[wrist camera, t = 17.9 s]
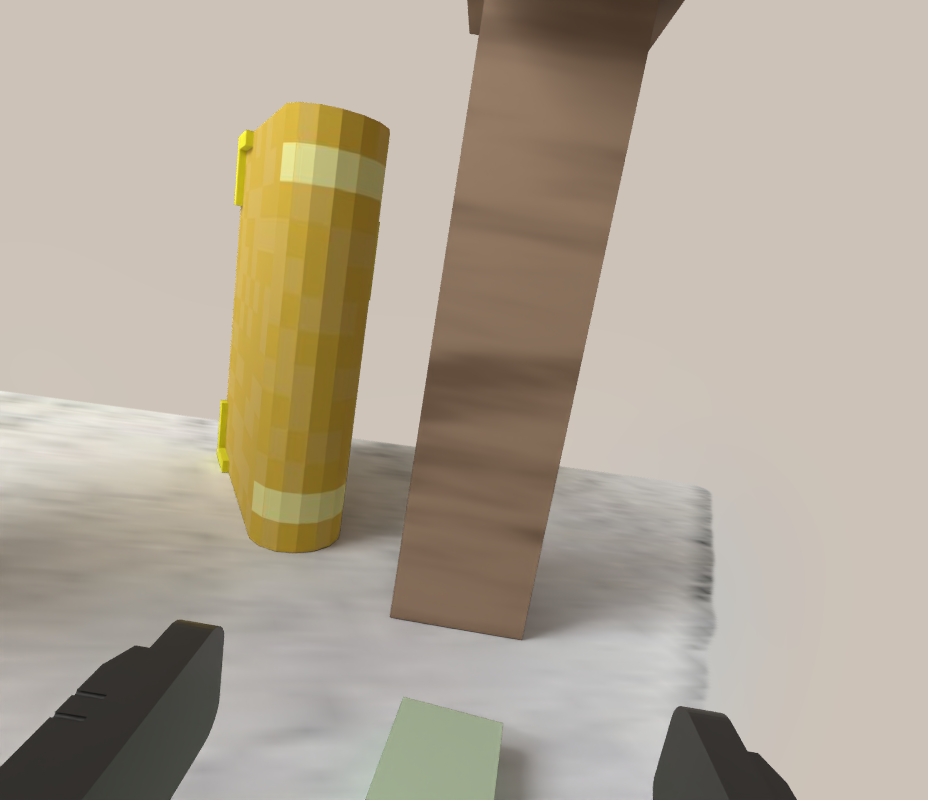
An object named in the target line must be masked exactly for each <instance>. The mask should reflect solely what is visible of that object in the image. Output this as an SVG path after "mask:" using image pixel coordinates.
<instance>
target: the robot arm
mask: <svg viewBox="0 0 928 800" xmlns="http://www.w3.org/2000/svg"><path fill="white" fill-rule="evenodd" d="M223 645H224V631H223V628H222V627H221V626H215V625H209V624H203V623H197V622H191V621H185V620H176V621H175V622H173V623H172V624H171V625H170V626H169V627H168V629H167V630H166V631H165V632H164V633H163V634H162V635H161V636H160V637H159V638H158V640H157V641H156V642H155V643H154V644H153V645H152V646H151V647H150V648H147V647H141V646H134V647H132V648H130V649H129V650H127V651H125V652H123V653H122V654H120V655H118V656H116V657H115V658H113V659H111V660H109V661H108V662H106V663H104V664H102V665H101V666H100V667H99V668H98V669H97V670H96V671H95V672H94V673H93V674H92V675H91V676H90V677H89V678H88V679H87V680H86V681H85V682H84V683H83V684H82V685H81V686H80V687H79V688H78V689H77V692H76V694H75V695H72V696H71V697H70V698H69V699H68V700H67V701H66V702H65V703H64V704H63V705H62V706H61V707H60V708H59V709H58V710H57V711H56V712H55V715H54V717H53V718H51V717H50V718H49V719H48V720H47V721H46V722H45V723H44V724H43V725H42V726H41V727H40V728H39V729H38V730H37V731H36V732H35V733H34V734H33V735H32V736H31V737H30V738H29V739H28V740H27V741H26V742H25V743H24V744H23V745H22V746H21V747H20V748H19V749H18V750H17V751H16V752H15V753H14V754H13V755H12V756H11V757H10V758H9V759H8V760H7V761H6V762H5V763H4V764H3V765H2V766H1V767H0V800H170V799H171V797H172V796H173V794H174V792H175V791H176V789H177V788H178V786H179V784H180V783H181V781H182V779H183V778H184V776H185V774H186V773H187V771H188V769H189V768H190V766H191V764H192V763H193V761H194V759H195V758H196V756H197V755H198V753H199V751H200V750H201V748H202V746H203V745H204V743H205V741H206V739H207V737H208V735H209V733H210V731H211V728H212V726H213V723H214V720H215V717H216V713H217V709H218V704H219V696H220V683H221V671H222V658H223ZM653 800H797V799H796V797H795V796H794V794H793V792H792V791H791V789H790V788H789V786H788V784H787V783H786V782H785V781H784V780H783V779H782V777H781V776H779V774H778V773H777V772H776V771H775V770H774V769H773V768H772V767H771V766H770V765H769V764H768V763H767V762H766V761H765V760H764V759H763V758H762V757H761V756H760V755H759V754H758V753H754V752H748V751H747V750H746V748H745V746H744V745H743V743H742V741H741V739H740V737H739V735H738V734H737V732H736V730H735V728H734V726H733V725H732V723H731V721H730V720H729V718H728V717H727V716H726V715H725V714H722V713H717V712H712V711H706V710H700V709H694V708H688V707H682V706H679V707H677V708H676V709H675V711H674V713H673V715H672V718H671V722H670V725H669V728H668V732H667V735H666V739H665V742H664V746H663V749H662V752H661V756H660V759H659V763H658V766H657V770H656V773H655V777H654V783H653Z"/></svg>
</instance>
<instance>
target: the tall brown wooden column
mask: <svg viewBox="0 0 928 800" xmlns="http://www.w3.org/2000/svg"><path fill="white" fill-rule="evenodd" d="M467 1H468V16H469V31H470V34H476V35H479V38H478V45H477V51H476V58H475V65H474V71H473V78H472V84H471V90H470V97H469V104H468V110H467V117H466V123H465V130H464V137H463V143H462V149H461V156H460V163H459V169H458V176H457V182H456V188H455V196H454V202H453V208H452V215H451V221H450V228H449V234H448V242H447V247H446V254H445V260H444V267H443V273H442V280H441V287H440V293H439V300H438V306H437V313H436V319H435V326H434V333H433V339H432V346H431V352H430V358H429V365H428V372H427V378H426V385H425V391H424V398H423V404H422V411H421V417H420V424H419V430H418V437H417V443H416V450H415V456H414V463H413V469H412V476H411V483H410V489H409V496H408V502H407V509H406V515H405V522H404V528H403V535H402V541H401V548H400V554H399V561H398V567H397V574H396V581H395V587H394V594H393V600H392V607H391V613H390V617H391V618H397V619H403V620H409V621H415V622H421V623H426V624H432V625H438V626H444V627H450V628H455V629H461V630H467V631H473V632H479V633H485V634H490V635H496V636H502V637H508V638H514V639H519V640H522V636H523V632H524V627H525V622H526V618H527V613H528V608H529V604H530V599H531V594H532V590H533V585H534V580H535V576H536V571H537V567H538V562H539V557H540V553H541V548H542V543H543V539H544V534H545V529H546V525H547V520H548V515H549V511H550V506H551V501H552V497H553V492H554V487H555V483H556V478H557V474H558V469H559V464H560V459H561V455H562V450H563V446H564V441H565V436H566V432H567V427H568V422H569V417H570V413H571V408H572V404H573V399H574V394H575V390H576V385H577V381H578V376H579V371H580V366H581V362H582V357H583V352H584V347H585V343H586V339H587V334H588V329H589V325H590V319H591V315H592V311H593V305H594V301H595V297H596V292H597V288H598V283H599V278H600V273H601V269H602V264H603V259H604V255H605V250H606V246H607V241H608V236H609V232H610V227H611V222H612V218H613V213H614V208H615V204H616V199H617V194H618V190H619V185H620V180H621V176H622V171H623V166H624V162H625V157H626V153H627V148H628V143H629V138H630V134H631V129H632V125H633V120H634V116H635V111H636V106H637V101H638V97H639V92H640V88H641V82H642V78H643V74H644V69H645V64H646V60H647V54H648V51H649V50H650V48H651V47H652V45H653V44H654V43H655V41H656V40H657V38H658V36H660V34H661V33H662V31H663V30H664V29H665V27H666V26H667V24H668V23H669V21H670V20H671V19H672V17H673V16H674V15H675V13H676V12H677V10H678V9H679V7H680V6H681V5H682V3H683V1H684V0H467Z"/></svg>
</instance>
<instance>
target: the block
mask: <svg viewBox="0 0 928 800" xmlns="http://www.w3.org/2000/svg"><path fill="white" fill-rule="evenodd" d="M502 729H503V723H501V722H497V721H493V720H489V719H486V718H482V717H478V716H474V715H471V714H467V713H463V712H459V711H455V710H452V709H448V708H444V707H440V706H437V705H433V704H429V703H425V702H421V701H418V700H414V699H410V698H406V697H403V699H402V702H401V705H400V707H399V710H398V713H397V715H396V718H395V721H394V723H393V726H392V729H391V731H390V734H389V737H388V740H387V742H386V745H385V748H384V750H383V753H382V756H381V758H380V761H379V764H378V766H377V769H376V772H375V775H374V777H373V780H372V783H371V785H370V788H369V791H368V793H367V796H366V799H365V800H494V796H495V788H496V779H497V771H498V763H499V754H500V746H501V737H502Z"/></svg>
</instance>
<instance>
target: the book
mask: <svg viewBox="0 0 928 800" xmlns="http://www.w3.org/2000/svg"><path fill="white" fill-rule="evenodd" d="M389 136H390V131H389V128H387V127H386V126H385V125H383V124H382V123H380V122H378V121H376V120H374V119H371V118H369V117H367V116H365V115H361V114H358V113H355V112H351V111H348V110H344V109H341V108H336V107H332V106H327V105H322V104H314V103H304V102H295V103H286V104H285V105H284V106H283V107H282V108H281V109H280V110H278V111H277V112H276V113H275V114H274V115H273V116H271V117H270V118H269V119H268V120H267V121H266V122H265V123H263V124H262V125H261V126H260V127H259V128H258V129H257V130H255V131H250V130H246V131H245V132H244V133H243V134H242V135H241V136H239V144H238V159H237V173H236V188H235V202H234V204H235V205H239V206H241V213H240V227H239V228H240V229H239V242H238V256H237V269H236V283H235V298H234V311H233V325H232V340H231V354H230V367H229V381H228V395H227V400H221V404H220V419H219V433H218V447H217V457H218V460H219V464H220V467H221V471H222V472H229V475H230V478H231V481H232V485H233V488H234V491H235V494H236V497H237V501H238V504H239V507H240V510H241V513H242V516H243V520H244V523H245V526H246V529H247V532H248V536H249V538H250V539H251V540H252V541H254V542H255V543H256V544H258V545H259V546H261V547H264V548H268V549H271V550H274V551H279V552H290V553H300V552H309V551H316V550H319V549H321V548H324V547H327V546H330V545H331V544H332V543H333V542H334V541H336V540H337V539H338V537H339V533H340V527H341V519H342V511H343V503H344V495H345V487H346V479H347V471H348V463H349V455H350V447H351V439H352V431H353V423H354V415H355V407H356V400H357V392H358V383H359V375H360V368H361V360H362V352H363V344H364V335H365V328H366V319H367V312H368V304H369V300H370V296H371V287H372V280H373V271H374V264H375V255H376V248H377V240H378V232H379V224H380V222H379V216H380V208H381V199H382V192H383V184H384V176H385V168H386V160H387V152H388V144H389Z"/></svg>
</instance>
